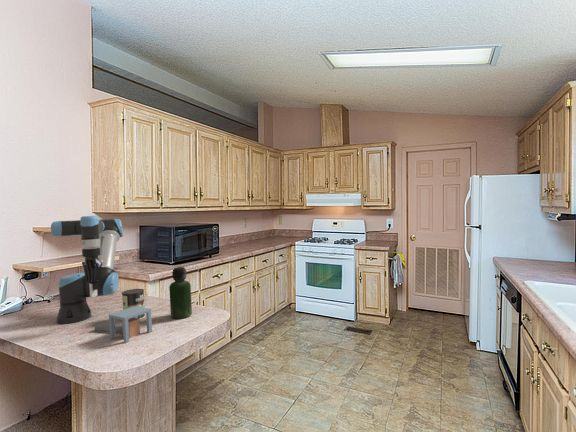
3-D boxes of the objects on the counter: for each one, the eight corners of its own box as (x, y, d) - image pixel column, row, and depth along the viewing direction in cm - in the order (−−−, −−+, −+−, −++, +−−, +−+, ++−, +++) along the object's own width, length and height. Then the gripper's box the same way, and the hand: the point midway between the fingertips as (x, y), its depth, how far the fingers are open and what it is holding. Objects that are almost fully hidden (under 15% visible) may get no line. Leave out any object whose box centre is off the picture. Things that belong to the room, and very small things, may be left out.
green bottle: (169, 320, 162) (167, 270, 162) (172, 313, 173) (170, 267, 172) (191, 318, 165) (188, 269, 164) (192, 311, 175) (190, 265, 174)
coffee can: (149, 315, 172) (148, 288, 171) (136, 322, 162) (135, 294, 161) (132, 314, 174) (130, 288, 173) (118, 321, 164) (117, 293, 163)
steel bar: (94, 332, 151) (94, 325, 151) (100, 329, 155) (99, 323, 154) (128, 333, 148) (128, 327, 148) (133, 330, 151) (133, 324, 151)
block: (122, 336, 144) (122, 320, 144) (132, 332, 148) (132, 317, 148) (130, 338, 142) (129, 322, 141) (140, 333, 146) (139, 318, 146)
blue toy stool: (110, 338, 142) (108, 314, 142) (136, 327, 153) (135, 306, 153) (126, 342, 137) (124, 318, 136) (152, 331, 148) (150, 308, 148)
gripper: (75, 248, 156) (78, 297, 157) (91, 249, 150) (94, 299, 151) (91, 246, 163) (93, 293, 164) (106, 247, 157) (109, 295, 157)
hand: (93, 296), depth 157 cm, fingers closed
